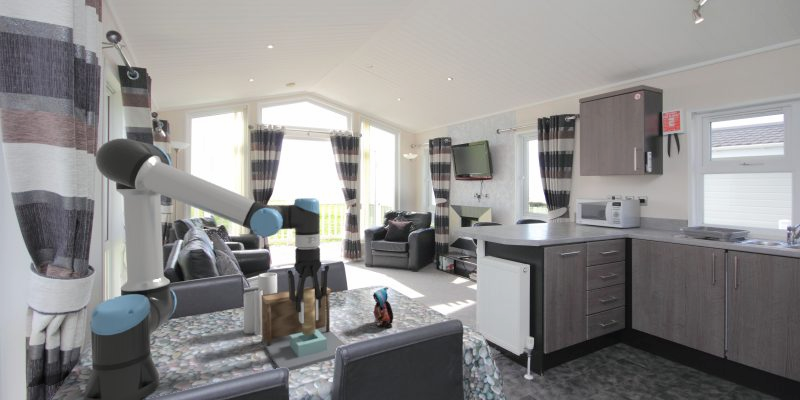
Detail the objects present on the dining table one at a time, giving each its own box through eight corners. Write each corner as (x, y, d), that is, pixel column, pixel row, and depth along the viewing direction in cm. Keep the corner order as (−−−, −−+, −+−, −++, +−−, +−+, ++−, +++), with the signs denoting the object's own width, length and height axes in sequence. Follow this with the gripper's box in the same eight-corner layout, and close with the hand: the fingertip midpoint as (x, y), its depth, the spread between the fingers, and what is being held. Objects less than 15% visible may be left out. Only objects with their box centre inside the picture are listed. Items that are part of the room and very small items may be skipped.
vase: (274, 323, 136) (274, 271, 135) (279, 330, 130) (279, 275, 129) (242, 330, 129) (242, 275, 129) (246, 337, 123) (245, 280, 123)
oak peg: (304, 336, 111) (304, 291, 110) (300, 331, 114) (300, 288, 113) (317, 333, 113) (316, 289, 112) (312, 328, 116) (312, 286, 115)
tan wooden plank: (266, 349, 114) (266, 300, 114) (262, 342, 120) (261, 295, 119) (331, 334, 126) (331, 289, 126) (324, 328, 132) (324, 285, 131)
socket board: (280, 373, 100) (280, 357, 100) (261, 341, 120) (261, 328, 120) (351, 353, 112) (351, 339, 112) (323, 327, 132) (323, 315, 132)
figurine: (367, 323, 136) (367, 284, 136) (383, 319, 140) (383, 282, 140) (379, 332, 128) (380, 291, 127) (396, 328, 132) (396, 288, 131)
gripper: (283, 251, 104) (284, 330, 105) (337, 246, 114) (338, 318, 115) (277, 248, 111) (278, 322, 112) (328, 243, 120) (329, 311, 121)
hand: (308, 320), depth 113 cm, fingers closed on oak peg, 4 cm apart
